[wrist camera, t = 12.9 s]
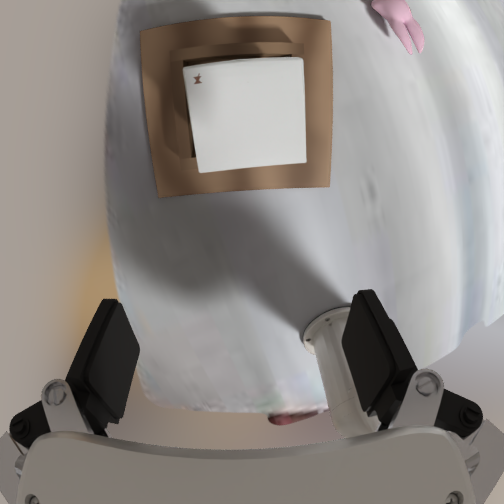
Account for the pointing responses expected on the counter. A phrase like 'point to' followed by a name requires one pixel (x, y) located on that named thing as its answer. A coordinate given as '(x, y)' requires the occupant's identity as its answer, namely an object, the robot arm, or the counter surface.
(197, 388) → the counter surface
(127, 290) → the counter surface
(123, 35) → the counter surface
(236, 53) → the walnut holder
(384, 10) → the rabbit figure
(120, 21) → the counter surface
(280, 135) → the supplement box
